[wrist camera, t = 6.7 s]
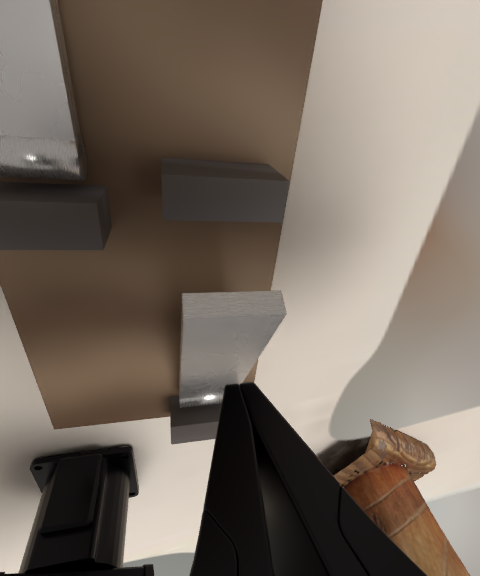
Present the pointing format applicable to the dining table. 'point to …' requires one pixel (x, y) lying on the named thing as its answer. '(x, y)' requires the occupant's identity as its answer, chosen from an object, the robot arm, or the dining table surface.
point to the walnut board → (155, 197)
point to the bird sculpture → (401, 498)
